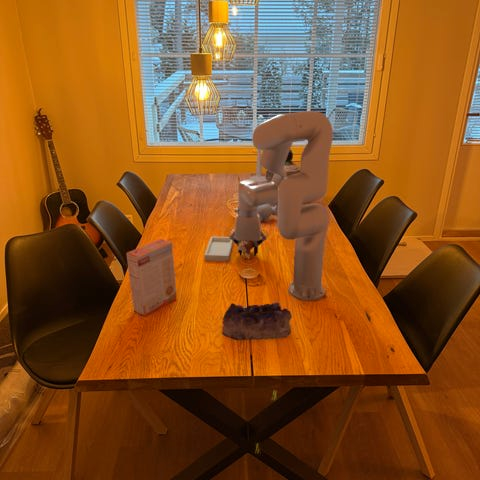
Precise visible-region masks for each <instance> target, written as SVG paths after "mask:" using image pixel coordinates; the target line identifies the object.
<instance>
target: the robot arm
mask: <svg viewBox="0 0 480 480" xmlns="http://www.w3.org/2000/svg"><path fill="white" fill-rule="evenodd" d="M333 131H334V130H333V126H332V123H331V121H330V119H329V118H328V117H327V116H326V115H325V114H324V113H322V112H320V111H316V110H306V111H305V110H304V111H298V112H287V113H282V114H278V115H275V116H273V117H271V118H269V119H267V120H265V121H263V122H261V123H260V124H258V125H257V126H256V127H255V128H254V130H253V133H252V137H251V138H252V139H251V140H252V145H253V146H254V148H255V149H257V151H258V150H260V151H261V157H260V164H261V168H263V169H264V170H265V171H269V172H272V173H274V175H273V178H272V180H271V182H270V183H266V182H264V183H257V182H256V181H254V180H249V179H243V180H240V181H239V182H238V185H237V189H238V191H237V197H238V198H237V199H238V201H237V204H238V207H237V208H234V213H236V216H235V224H234V231H232V233H231V234H230V235H229V236H228V237H229V238H230V239H231V240H232V241H233V244H234V243H235V245H236V246H237V247H238V246H239V242H244V241H254V243H255V245H254V247H253V251H254V252H253V256H254V257H256V256H257V254H258V253H259V252H258V251H259V246H260V245H261V244H262V243H263V242H265V241H267V238H268V237H267V236H266V235H265V233H264V232H263V231H262V225H261V224H262V223H261V222H260V216H259V214H258V206H261V205H264V204H268V203H273V202H276V201H278V208H277V215H276V217H277V218H276V219H277V221H276V223H277V229H278V232H279V234H280V235H281V236H282V238H284V239H285V240H290V241H291V240H295V244H294V260H293V261H294V262H293V276H292V277H293V279H292V282H291V283H290V284H289V285H288V288H287V289H288V291H287V292H288V293H289V295H290V296H291V297H293V298H294V299H297V300H301V301H304V302H305V301H307V302H308V301H309V302H310V301H317V300H320V299H322V298H323V297H324V296H325V295H326V288H325V286H323V284H322V281H323V280H322V278H323V266H324V253H325V243H326V237H327V232H328V230H329V225H330V218H331V216H330V212H329V210H328V208H327V207H326V206H325V205H323V204H321V203H317V202H318V201H320V200H322V199H323V198H324V197H325V196H326V195H327V191H328V181H329V180H328V179H329V166H330V162H329V161H330V154H331V148H332V144H333V137H334V136H333V134H334V133H333ZM302 141H307V143H306V144H305V146H304V148H303V150H302V153H301V156H300V166H299V167H300V171H299V173H297V174H292V175H289V176H287V175H286V171H285V169H284V167H283V166H284V164H285V161H286V159H287V156H288V153H289V151H290V149H291V148H292V145H293V143H295V142H296V143H297V142H302ZM316 201H317V202H316ZM302 204H304V205H303V206H302ZM237 253H239V256H242V254H243V251H241V250H237Z"/></svg>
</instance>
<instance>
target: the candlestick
mask: <svg viewBox="0 0 480 480" xmlns="http://www.w3.org/2000/svg"><path fill="white" fill-rule="evenodd" d="M261 155H262V151H260V150H258V149H257V154H256V172H255V175H252V176H250V177H249V178H248V180H254V181H256V182H257V183H258V184H264V183H266V182H267V179H266V175H263V173H262V172H263V171H262V166H261V164H260V157H261Z"/></svg>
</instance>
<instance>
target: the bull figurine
mask: <svg viewBox="0 0 480 480" xmlns="http://www.w3.org/2000/svg"><path fill="white" fill-rule="evenodd" d="M254 245H255V243H254V241H242V242H239V246H237V248H236V249H237V251H238V250H241V251H242V254H243V256H242V258H243V257H245V258H246V255H247V257H249V258H250V255H251V250H253V249H254ZM252 252H253V253H254V250H253V251H252Z"/></svg>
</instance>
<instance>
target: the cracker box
mask: <svg viewBox="0 0 480 480" xmlns="http://www.w3.org/2000/svg"><path fill="white" fill-rule="evenodd" d="M173 251H174V250H173V243H172V242H171V241H168V240H165V239H162V238H159V239H157V240H154V241H151V242H149V243H147V244H144V245H142V246H140V247H137V248H134V249H133V250H131V251H130V250H129V251H127V252H126V254H125V256H126V261H127V262H126V263H127V269H128V275H129V277H128V278H129V283H130V291H131V299H132V306H133V311H134V312H135V313H138V314H140V315H141V316H143V317H147V316H148V315H150V314H151V313H154V312H155V311H157V310H159V309H160V308H162V307H164V306H166V305H168V304H170V303H172V302H173V301H175V300H177V299H178V298H177V289H176V288H177V286H176V274H175V265H174V264H175V262H174V253H173Z"/></svg>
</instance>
